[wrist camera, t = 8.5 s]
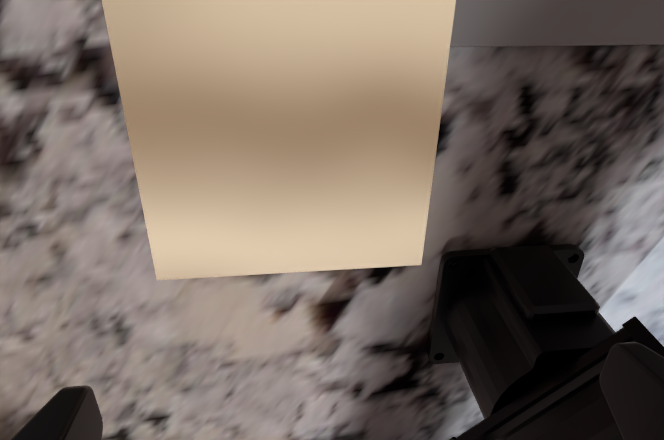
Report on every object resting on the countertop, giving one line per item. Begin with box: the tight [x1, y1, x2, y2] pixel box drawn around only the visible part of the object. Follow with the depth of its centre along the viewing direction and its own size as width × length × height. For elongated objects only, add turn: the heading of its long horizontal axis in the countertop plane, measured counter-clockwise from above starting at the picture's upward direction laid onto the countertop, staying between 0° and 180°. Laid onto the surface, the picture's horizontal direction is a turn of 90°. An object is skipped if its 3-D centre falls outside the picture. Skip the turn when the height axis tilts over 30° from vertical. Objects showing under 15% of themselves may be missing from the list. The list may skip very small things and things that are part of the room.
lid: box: [102, 0, 456, 280], centre depth 13 cm, size 7×7×2 cm
